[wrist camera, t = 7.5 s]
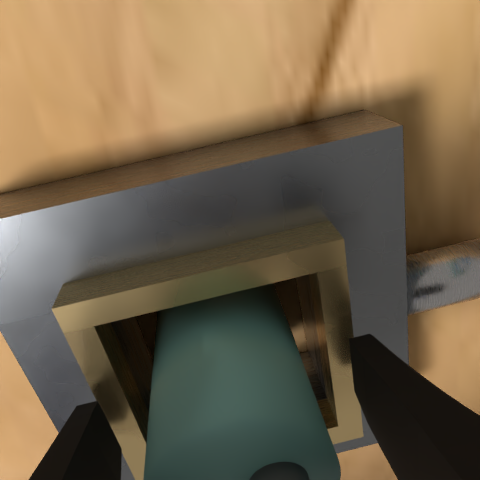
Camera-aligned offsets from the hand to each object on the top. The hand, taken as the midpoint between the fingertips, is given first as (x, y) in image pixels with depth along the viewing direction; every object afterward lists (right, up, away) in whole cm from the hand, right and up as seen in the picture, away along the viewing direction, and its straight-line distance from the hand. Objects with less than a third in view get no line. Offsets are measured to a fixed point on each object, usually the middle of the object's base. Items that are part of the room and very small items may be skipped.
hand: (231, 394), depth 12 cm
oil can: (0, +2, +4) cm, 4 cm away
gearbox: (+1, +2, +4) cm, 5 cm away
